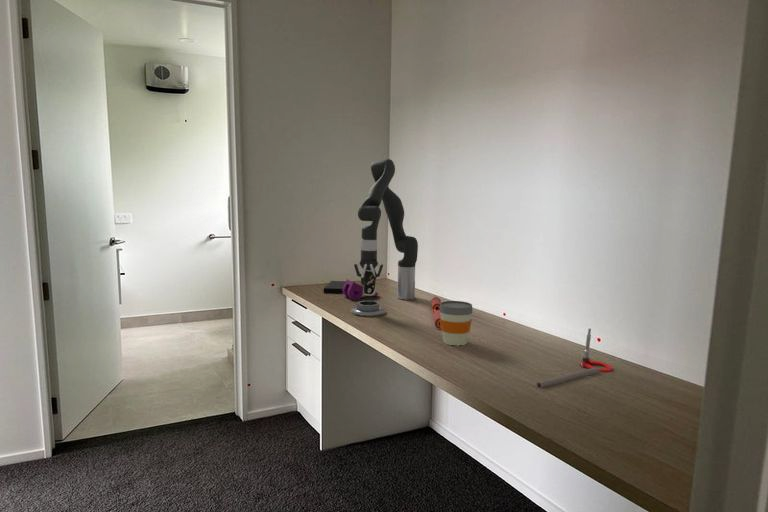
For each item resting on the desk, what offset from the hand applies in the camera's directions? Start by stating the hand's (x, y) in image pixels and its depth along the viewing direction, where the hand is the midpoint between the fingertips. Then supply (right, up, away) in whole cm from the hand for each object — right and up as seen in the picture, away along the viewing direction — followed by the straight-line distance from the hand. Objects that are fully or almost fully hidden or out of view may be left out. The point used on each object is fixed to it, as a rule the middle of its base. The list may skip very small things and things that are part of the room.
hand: (368, 285), depth 242 cm
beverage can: (0, -5, +1) cm, 5 cm away
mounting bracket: (-5, -9, +35) cm, 36 cm away
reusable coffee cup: (+34, -20, -43) cm, 59 cm away
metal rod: (+65, -25, -80) cm, 106 cm away
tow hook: (+79, -24, -68) cm, 107 cm away
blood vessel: (+32, -15, -3) cm, 35 cm away
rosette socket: (0, -13, +2) cm, 13 cm away
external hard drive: (-18, -6, +55) cm, 59 cm away
